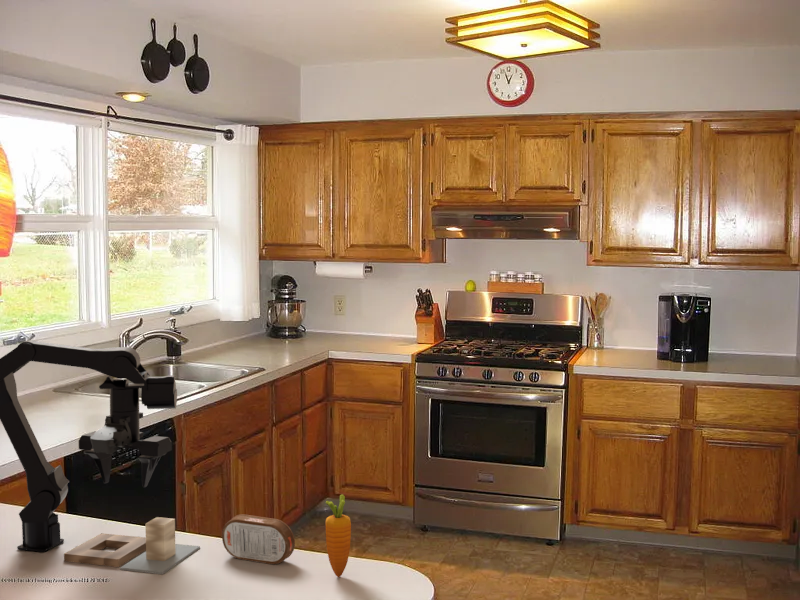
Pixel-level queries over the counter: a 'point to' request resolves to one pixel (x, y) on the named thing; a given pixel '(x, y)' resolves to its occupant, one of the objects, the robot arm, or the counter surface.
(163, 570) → the mat
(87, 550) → the pocket board
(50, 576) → the counter surface
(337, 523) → the carrot
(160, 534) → the block
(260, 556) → the tin
